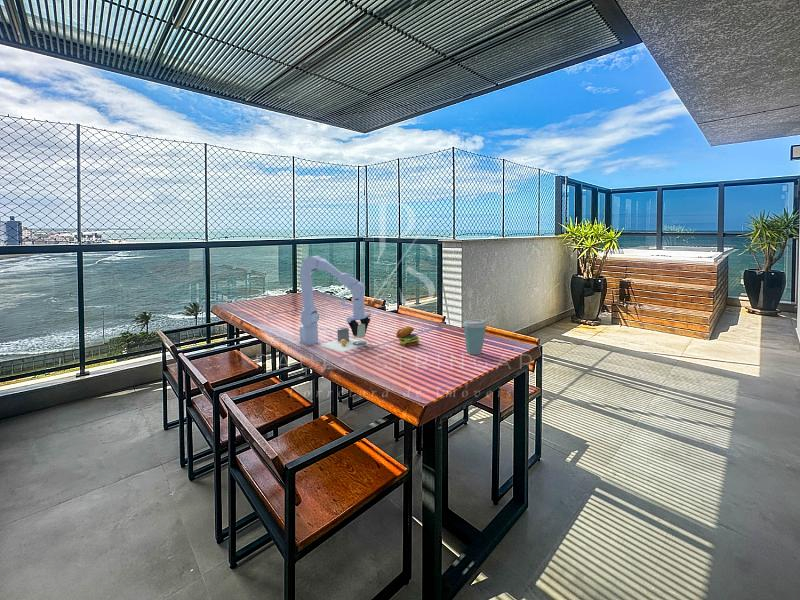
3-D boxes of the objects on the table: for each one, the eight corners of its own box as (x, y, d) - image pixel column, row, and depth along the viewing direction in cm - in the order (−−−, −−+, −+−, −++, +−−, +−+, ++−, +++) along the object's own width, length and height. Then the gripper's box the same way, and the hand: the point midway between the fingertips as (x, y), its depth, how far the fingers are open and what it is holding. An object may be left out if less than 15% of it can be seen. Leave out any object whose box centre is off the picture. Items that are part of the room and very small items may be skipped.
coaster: (349, 343, 187) (349, 343, 187) (360, 340, 192) (360, 340, 192) (359, 346, 182) (359, 345, 182) (369, 343, 187) (369, 342, 187)
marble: (339, 345, 184) (339, 339, 184) (344, 343, 186) (343, 338, 186) (343, 346, 182) (343, 340, 182) (348, 345, 184) (347, 339, 184)
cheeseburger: (418, 347, 181) (413, 327, 179) (397, 351, 183) (392, 331, 182) (421, 341, 190) (416, 322, 189) (401, 345, 193) (396, 326, 192)
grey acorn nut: (335, 340, 193) (335, 329, 192) (344, 338, 197) (343, 326, 196) (343, 342, 189) (342, 330, 188) (351, 339, 194) (350, 328, 193)
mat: (317, 346, 185) (317, 345, 185) (346, 338, 199) (346, 337, 199) (342, 353, 173) (342, 352, 173) (371, 344, 187) (371, 343, 187)
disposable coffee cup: (459, 354, 169) (460, 322, 166) (465, 348, 179) (465, 317, 176) (483, 357, 165) (484, 323, 162) (487, 350, 175) (488, 318, 172)
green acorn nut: (351, 336, 186) (351, 324, 185) (359, 334, 190) (359, 322, 189) (359, 338, 182) (359, 326, 181) (367, 336, 187) (367, 324, 186)
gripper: (353, 310, 176) (354, 338, 178) (374, 305, 187) (375, 332, 189) (343, 308, 180) (344, 336, 183) (364, 304, 191) (365, 330, 194)
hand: (359, 334), depth 186 cm, fingers closed on green acorn nut, 6 cm apart
